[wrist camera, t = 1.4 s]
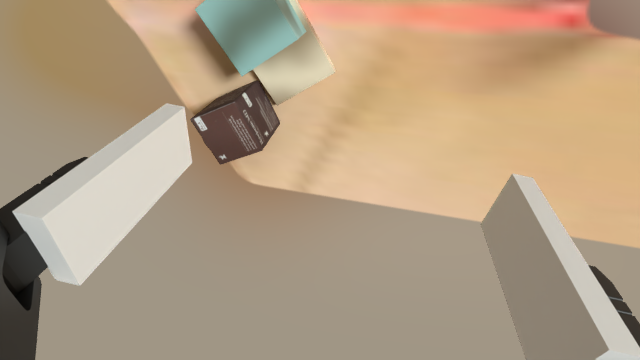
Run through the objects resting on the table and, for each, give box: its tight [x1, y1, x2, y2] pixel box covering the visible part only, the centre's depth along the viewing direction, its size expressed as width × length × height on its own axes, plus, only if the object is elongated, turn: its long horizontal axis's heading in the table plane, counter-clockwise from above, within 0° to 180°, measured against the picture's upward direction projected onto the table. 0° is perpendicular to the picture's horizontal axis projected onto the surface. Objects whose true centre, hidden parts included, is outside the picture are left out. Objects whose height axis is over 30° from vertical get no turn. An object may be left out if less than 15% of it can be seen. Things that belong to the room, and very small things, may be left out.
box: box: [191, 81, 280, 164], centre depth 37 cm, size 6×6×7 cm
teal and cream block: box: [195, 0, 336, 105], centre depth 32 cm, size 12×8×5 cm, turn 32°
